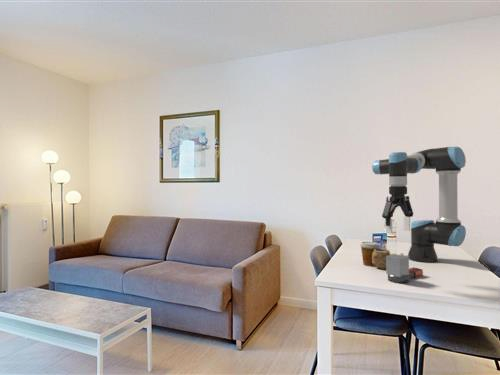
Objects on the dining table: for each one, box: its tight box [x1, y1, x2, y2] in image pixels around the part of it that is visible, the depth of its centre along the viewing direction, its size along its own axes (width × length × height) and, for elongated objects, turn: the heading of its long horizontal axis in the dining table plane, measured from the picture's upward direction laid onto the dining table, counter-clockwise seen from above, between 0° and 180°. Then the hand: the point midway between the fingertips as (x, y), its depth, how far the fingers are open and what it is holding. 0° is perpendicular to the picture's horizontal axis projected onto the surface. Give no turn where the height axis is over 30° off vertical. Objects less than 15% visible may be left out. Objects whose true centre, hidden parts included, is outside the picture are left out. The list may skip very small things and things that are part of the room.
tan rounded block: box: [372, 247, 405, 270], centre depth 158 cm, size 9×16×10 cm, turn 74°
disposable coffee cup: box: [360, 241, 379, 267], centre depth 167 cm, size 10×10×12 cm
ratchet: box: [387, 266, 424, 285], centre depth 142 cm, size 20×9×9 cm, turn 121°
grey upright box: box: [385, 254, 410, 277], centre depth 139 cm, size 7×7×8 cm
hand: (398, 231), depth 139 cm, fingers open, 13 cm apart
